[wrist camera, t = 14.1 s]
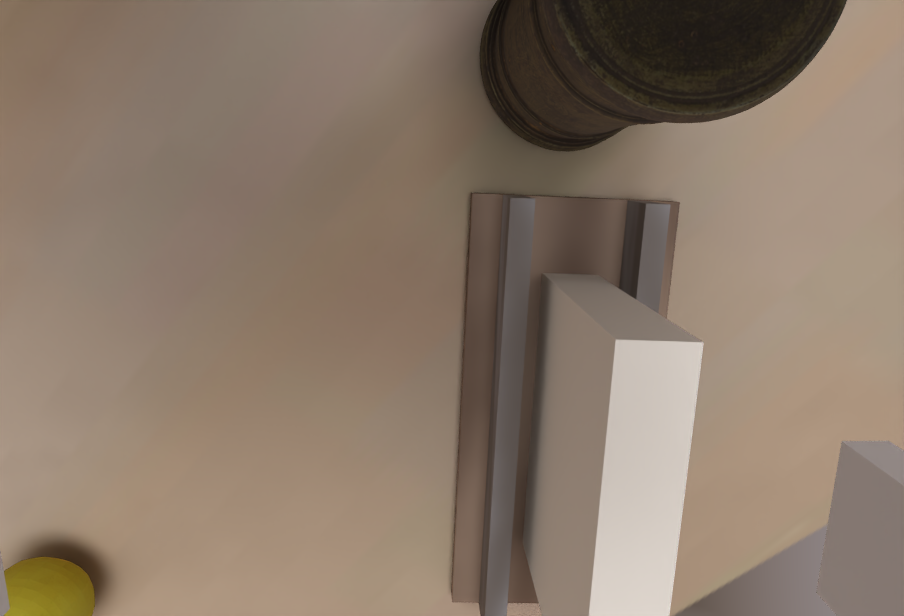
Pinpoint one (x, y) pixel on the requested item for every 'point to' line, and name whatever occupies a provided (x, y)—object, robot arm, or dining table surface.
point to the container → (641, 61)
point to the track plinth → (530, 357)
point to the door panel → (607, 450)
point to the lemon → (48, 588)
